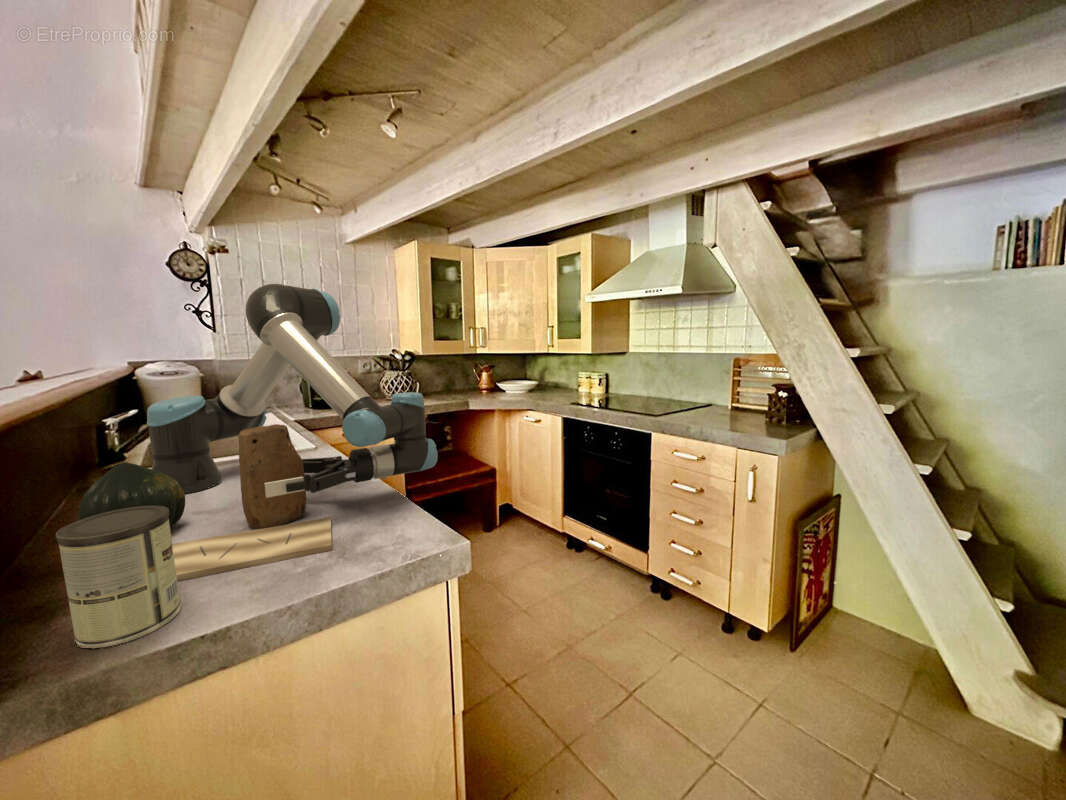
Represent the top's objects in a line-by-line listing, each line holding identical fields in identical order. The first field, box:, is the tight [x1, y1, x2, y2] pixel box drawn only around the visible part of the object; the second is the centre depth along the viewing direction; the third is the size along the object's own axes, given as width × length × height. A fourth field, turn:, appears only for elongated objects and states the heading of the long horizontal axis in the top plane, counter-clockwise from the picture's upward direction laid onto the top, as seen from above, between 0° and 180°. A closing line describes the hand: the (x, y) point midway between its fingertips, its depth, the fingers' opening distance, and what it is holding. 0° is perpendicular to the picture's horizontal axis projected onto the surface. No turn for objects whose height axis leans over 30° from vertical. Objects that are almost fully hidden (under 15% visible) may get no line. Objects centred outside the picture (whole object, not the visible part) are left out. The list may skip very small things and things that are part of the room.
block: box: [237, 423, 307, 529], centre depth 87 cm, size 11×8×20 cm
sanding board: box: [172, 516, 333, 582], centre depth 75 cm, size 14×28×1 cm, turn 116°
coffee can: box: [55, 505, 182, 647], centre depth 55 cm, size 10×10×14 cm
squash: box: [77, 461, 186, 528], centre depth 82 cm, size 14×15×15 cm
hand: (262, 481), depth 86 cm, fingers open, 13 cm apart
